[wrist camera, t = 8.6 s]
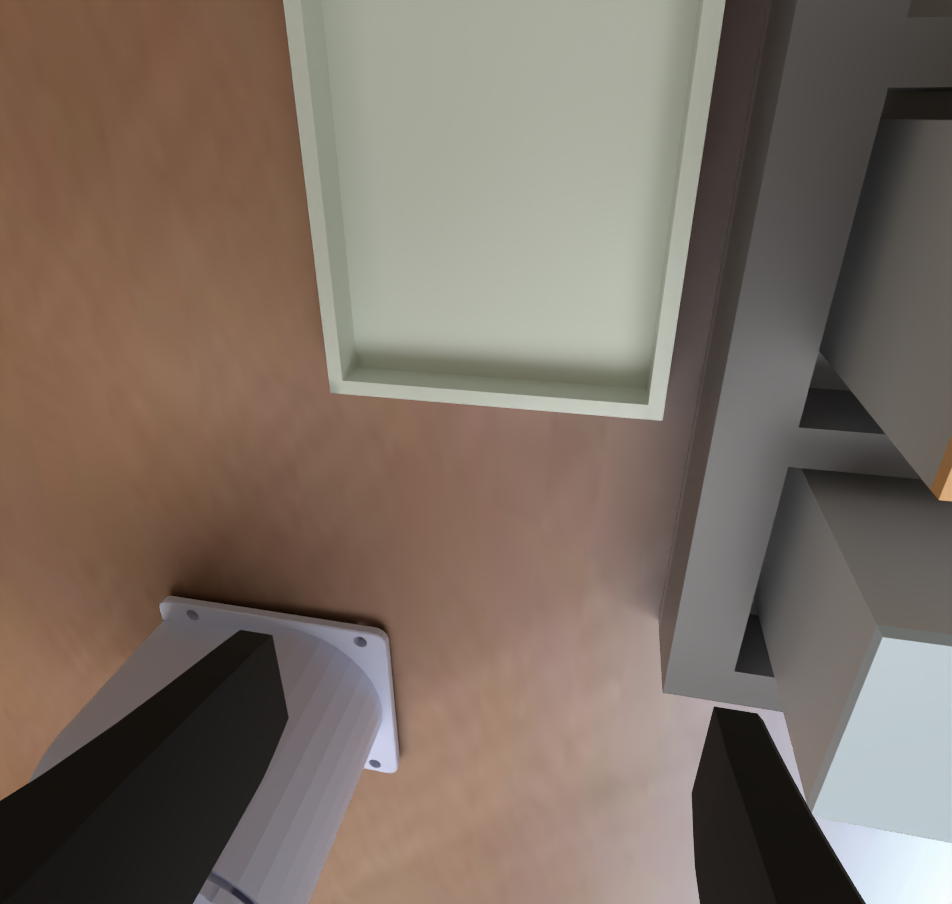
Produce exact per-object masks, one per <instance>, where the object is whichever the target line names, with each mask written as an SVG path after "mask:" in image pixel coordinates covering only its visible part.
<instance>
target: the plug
mask: <svg viewBox="0 0 952 904" xmlns="http://www.w3.org/2000/svg"><path fill="white" fill-rule="evenodd" d="M819 352H820V353H821V354H822V355H823V357H824V358H825V359H826V360H827V362H828V363H829V364H830V365H831V366H832V368H833V369H834V370H835V371H836V373H837V374H838V375H839V376H840V378H841V379H842V380H843V381H844V383H845V384H846V385H847V386H848V388H849V389H850V390H851V391H852V393H853V394H854V395H855V396H856V398H857V399H858V400H859V401H860V403H861V404H862V405H863V406H864V408H865V409H866V410H867V411H868V413H869V414H870V415H871V416H872V418H873V419H874V420H875V421H876V423H877V424H878V425H879V426H880V428H881V429H882V430H883V431H884V433H885V434H886V435H887V436H888V438H889V439H890V440H891V441H892V443H893V444H894V445H895V446H896V448H897V449H898V450H899V451H900V453H901V454H902V455H903V456H904V458H905V459H906V460H907V461H908V463H909V464H910V465H911V466H912V468H913V469H914V470H915V471H916V473H917V474H918V475H919V476H920V478H921V479H922V480H923V481H924V483H925V484H926V485H927V486H928V488H929V489H930V490H931V491H932V493H933V494H934V495H935V496H936V498H937V499H938V500H942V501H952V119H880V121H879V125H878V129H877V133H876V136H875V140H874V144H873V148H872V152H871V155H870V159H869V163H868V167H867V170H866V174H865V178H864V182H863V186H862V189H861V193H860V197H859V201H858V205H857V208H856V212H855V216H854V220H853V223H852V227H851V231H850V235H849V239H848V242H847V246H846V250H845V254H844V258H843V261H842V265H841V269H840V273H839V276H838V280H837V284H836V288H835V292H834V295H833V299H832V303H831V307H830V311H829V314H828V318H827V322H826V326H825V329H824V333H823V337H822V341H821V345H820V348H819Z"/></svg>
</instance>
